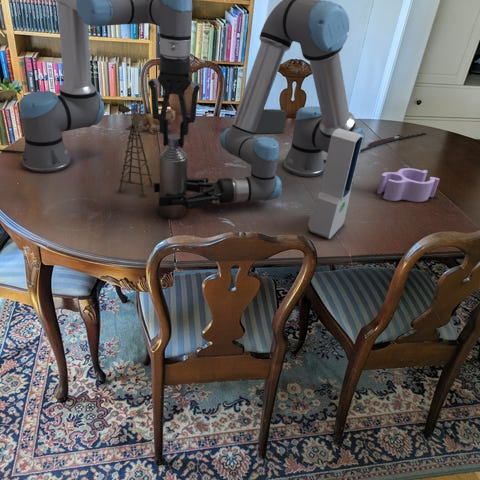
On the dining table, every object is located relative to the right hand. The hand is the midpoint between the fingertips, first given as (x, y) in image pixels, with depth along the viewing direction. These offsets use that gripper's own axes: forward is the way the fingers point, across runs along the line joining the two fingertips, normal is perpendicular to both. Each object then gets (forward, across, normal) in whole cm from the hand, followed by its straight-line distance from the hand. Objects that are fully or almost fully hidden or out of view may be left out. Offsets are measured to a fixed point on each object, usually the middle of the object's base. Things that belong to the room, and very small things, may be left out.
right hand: (156, 194), depth 135 cm
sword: (-113, +50, -6) cm, 124 cm away
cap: (-5, 0, +17) cm, 18 cm away
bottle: (-5, 0, -6) cm, 8 cm away
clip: (-88, +1, -6) cm, 88 cm away
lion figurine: (-11, +67, -6) cm, 69 cm away
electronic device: (-48, -16, -6) cm, 51 cm away
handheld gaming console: (-55, +63, -6) cm, 84 cm away
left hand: (-5, 0, +15) cm, 16 cm away
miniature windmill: (+4, +16, -6) cm, 18 cm away
